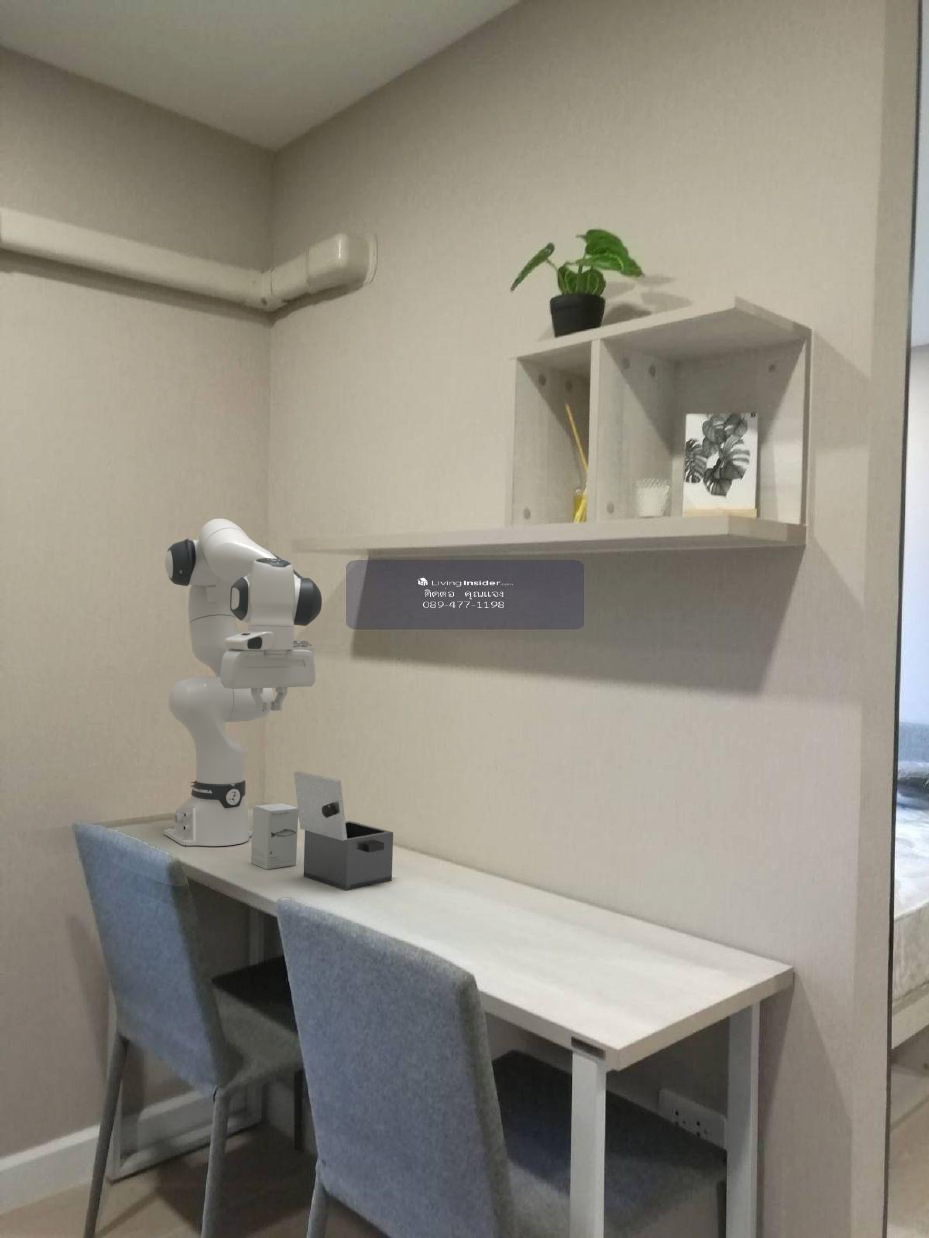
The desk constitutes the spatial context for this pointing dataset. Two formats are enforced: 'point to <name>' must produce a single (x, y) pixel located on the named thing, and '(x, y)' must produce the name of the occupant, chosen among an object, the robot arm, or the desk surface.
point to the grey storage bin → (350, 857)
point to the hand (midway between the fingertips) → (268, 710)
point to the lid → (320, 805)
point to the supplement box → (274, 835)
